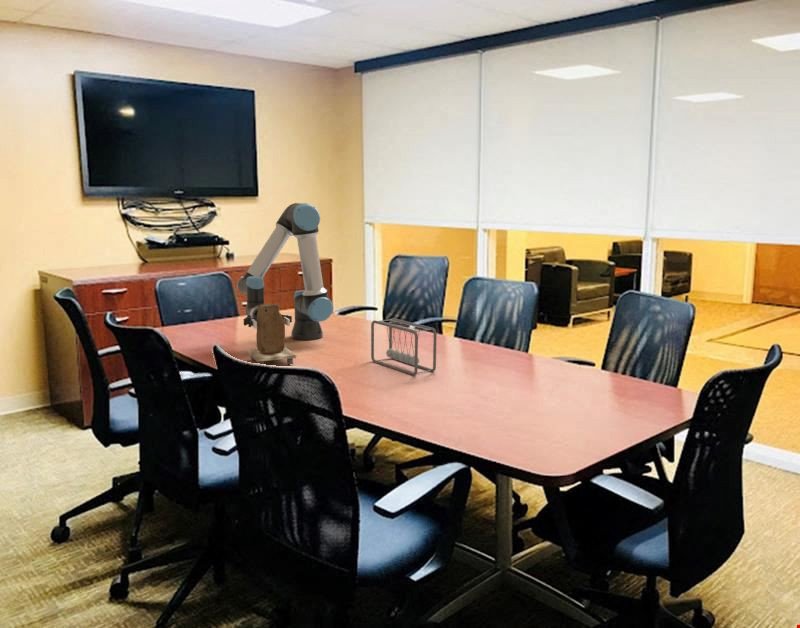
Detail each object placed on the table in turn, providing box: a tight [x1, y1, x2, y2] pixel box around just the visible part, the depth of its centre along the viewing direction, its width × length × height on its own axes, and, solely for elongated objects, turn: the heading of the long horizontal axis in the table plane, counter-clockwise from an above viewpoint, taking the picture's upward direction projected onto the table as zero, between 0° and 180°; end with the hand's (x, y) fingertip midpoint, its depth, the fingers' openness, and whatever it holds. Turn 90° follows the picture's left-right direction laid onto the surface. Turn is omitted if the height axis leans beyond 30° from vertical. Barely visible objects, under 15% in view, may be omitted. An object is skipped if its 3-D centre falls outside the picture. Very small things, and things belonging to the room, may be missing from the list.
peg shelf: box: [247, 346, 297, 365], centre depth 283 cm, size 16×17×4 cm
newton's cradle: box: [370, 317, 438, 376], centre depth 276 cm, size 30×10×18 cm, turn 38°
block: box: [255, 303, 286, 354], centre depth 281 cm, size 11×8×20 cm
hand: (272, 324), depth 277 cm, fingers open, 13 cm apart
